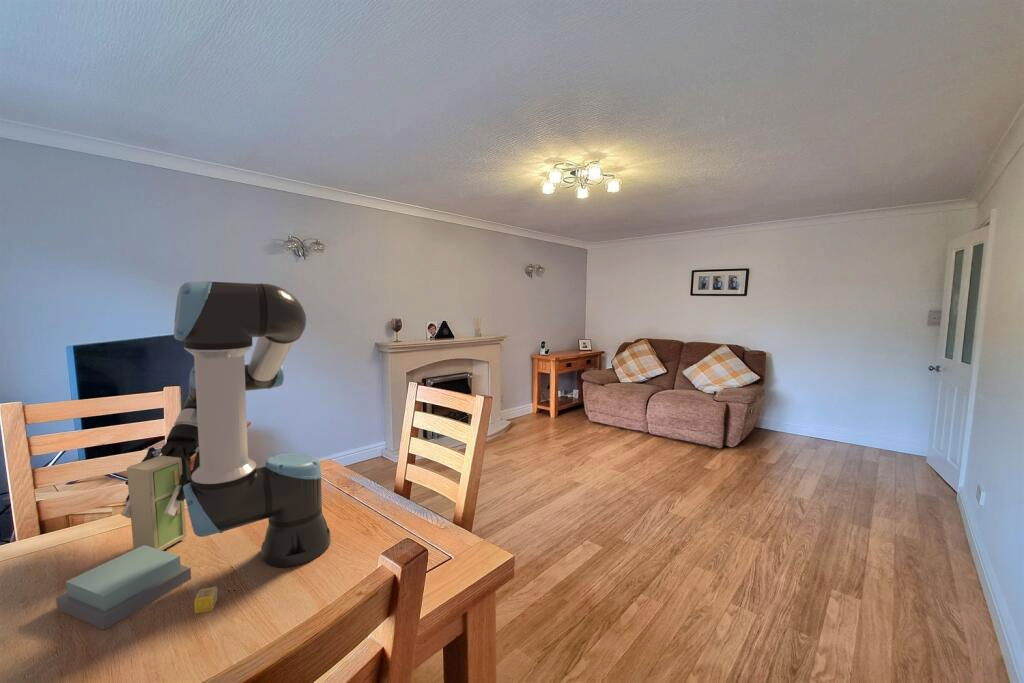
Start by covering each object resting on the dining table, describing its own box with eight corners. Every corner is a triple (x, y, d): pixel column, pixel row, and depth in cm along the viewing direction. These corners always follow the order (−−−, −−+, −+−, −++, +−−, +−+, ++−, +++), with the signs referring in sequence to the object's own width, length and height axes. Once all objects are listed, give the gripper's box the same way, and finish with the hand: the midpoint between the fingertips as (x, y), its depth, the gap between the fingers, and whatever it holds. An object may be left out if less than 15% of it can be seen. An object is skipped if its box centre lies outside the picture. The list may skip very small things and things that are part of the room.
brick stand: (191, 578, 89) (189, 554, 89) (104, 629, 75) (101, 601, 75) (146, 563, 94) (144, 541, 94) (57, 609, 80) (54, 582, 79)
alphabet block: (218, 599, 83) (217, 585, 83) (213, 610, 80) (212, 595, 80) (199, 603, 82) (199, 589, 82) (194, 614, 79) (193, 599, 79)
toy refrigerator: (156, 556, 96) (150, 470, 94) (132, 551, 98) (125, 467, 96) (189, 537, 104) (184, 457, 102) (166, 533, 105) (161, 455, 104)
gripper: (237, 434, 115) (204, 518, 101) (155, 436, 113) (109, 522, 98) (225, 421, 109) (188, 508, 95) (138, 423, 107) (86, 512, 93)
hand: (147, 515), depth 97 cm, fingers closed on toy refrigerator, 9 cm apart
